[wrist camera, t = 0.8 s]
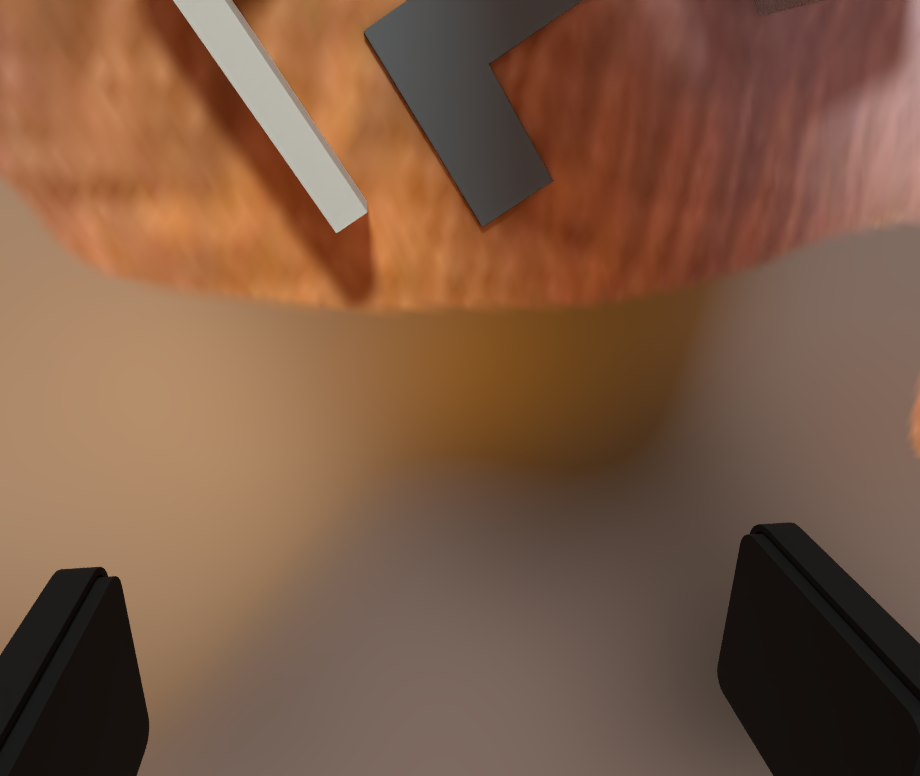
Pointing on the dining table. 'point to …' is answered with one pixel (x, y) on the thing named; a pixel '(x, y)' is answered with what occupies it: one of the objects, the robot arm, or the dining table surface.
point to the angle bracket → (780, 5)
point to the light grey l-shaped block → (276, 108)
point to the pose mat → (467, 90)
